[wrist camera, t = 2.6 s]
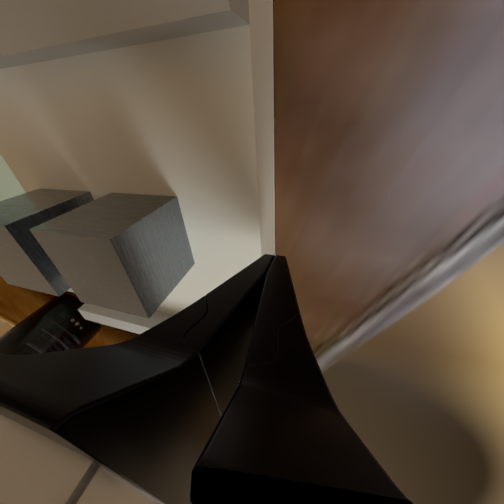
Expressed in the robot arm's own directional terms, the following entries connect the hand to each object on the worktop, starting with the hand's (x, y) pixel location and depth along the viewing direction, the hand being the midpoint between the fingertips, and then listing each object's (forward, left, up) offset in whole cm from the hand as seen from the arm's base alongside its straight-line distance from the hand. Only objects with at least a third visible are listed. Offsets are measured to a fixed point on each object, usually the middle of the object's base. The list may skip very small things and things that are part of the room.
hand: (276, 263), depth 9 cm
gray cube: (0, +13, -2) cm, 13 cm away
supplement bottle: (-16, +27, -5) cm, 32 cm away
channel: (0, +9, -4) cm, 10 cm away
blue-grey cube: (0, +7, -2) cm, 7 cm away
